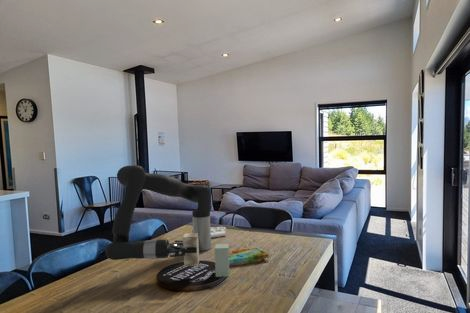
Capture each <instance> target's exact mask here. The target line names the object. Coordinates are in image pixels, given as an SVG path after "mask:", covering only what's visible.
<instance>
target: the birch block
mask: <svg viewBox="0 0 470 313" xmlns="http://www.w3.org/2000/svg"><path fill="white" fill-rule="evenodd" d="M182 236H183V237H182V241H183V247H196V248H197V252H196V253H187V254H185V256H183V265H184V266H183V267H199V263H200V251H199V244H198V233H192V232H189V233H188V232H187V233H184V234H183V235H182Z"/></svg>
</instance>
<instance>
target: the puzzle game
mask: <svg viewBox="0 0 470 313" xmlns="http://www.w3.org/2000/svg"><path fill="white" fill-rule="evenodd" d="M268 258H269V254H268V253H267V252H266V251H264V250H263V249H261V247H258V246H257V247H250V248H243V249H233V250H229V267H232V266H233V267H234V266H238V265H239V266H242V265H247V264H253V263H261V262H262V260H263V259H268Z"/></svg>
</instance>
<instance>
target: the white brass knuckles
mask: <svg viewBox="0 0 470 313" xmlns="http://www.w3.org/2000/svg"><path fill="white" fill-rule="evenodd" d="M210 228H211V239H215V238H220V237H225V236H226V233H227V229H226V228H227V227H225V226H217V227H216V226H213V227H211V226H210Z"/></svg>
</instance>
